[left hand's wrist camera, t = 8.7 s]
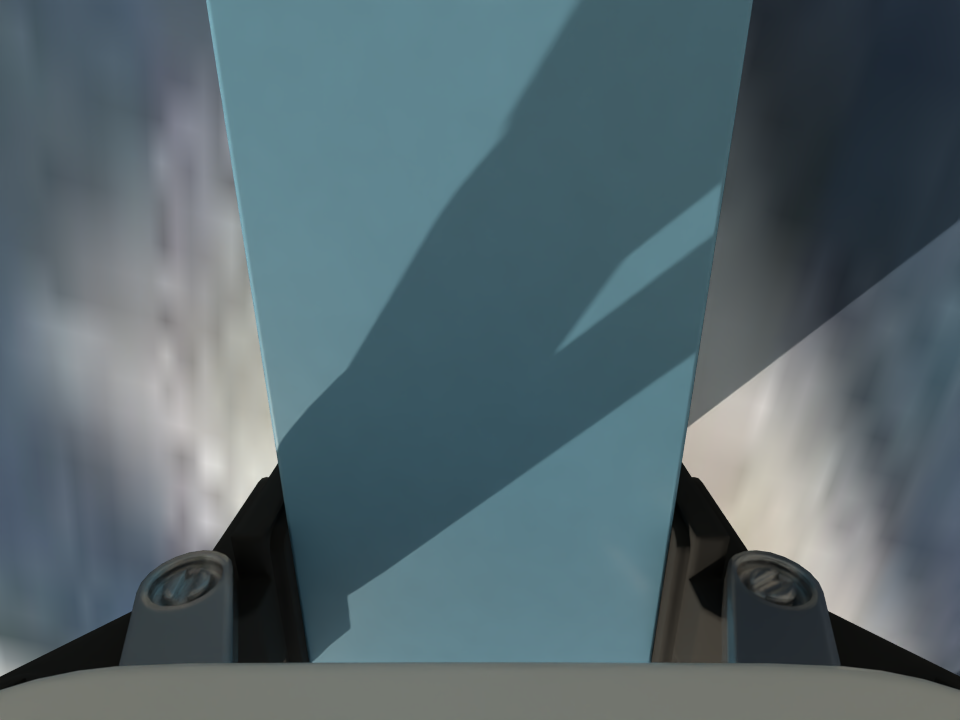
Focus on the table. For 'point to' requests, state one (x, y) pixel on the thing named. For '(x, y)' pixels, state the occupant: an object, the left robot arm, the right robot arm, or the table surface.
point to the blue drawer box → (479, 305)
